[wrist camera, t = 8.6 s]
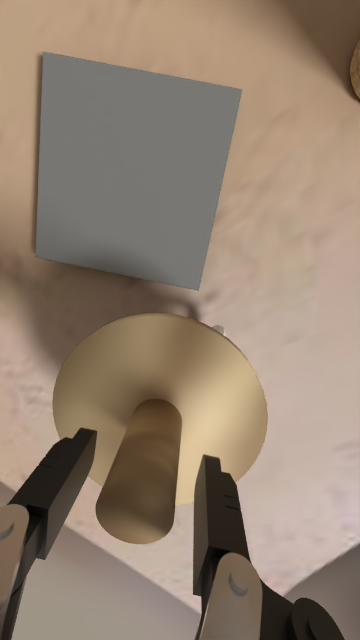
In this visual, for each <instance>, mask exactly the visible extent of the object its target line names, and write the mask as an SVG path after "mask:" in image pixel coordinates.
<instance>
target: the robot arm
mask: <svg viewBox="0 0 360 640" xmlns="http://www.w3.org/2000/svg"><path fill="white" fill-rule="evenodd" d="M96 440H97V431H96V430H92V429H87V428H82V427H81V428H80V429H79V430H78V431H77V433H76V434H75V436H74V437H73V438H67V437H64V438H63V439H62V440H60V441H59V442H57V443H56V444H54V445H53V447H52V448H51V449H50V450H49V452H48V453H47V454H46V456H45V457H44V458H43V459H42V461H41V462H40V463H39V466H37V467H36V469H35V470H34V471H33V472H32V474H31V475H30V476H29V478H28V479H27V480H26V481H25V483H24V484H23V485H22V487H21V488H20V489H19V490H18V492H17V493H16V494H15V496H14V497H13V498H12V500H11V501H10V502H9V503H8V504H7V505H6V506H3V507H0V640H11V639H12V635H13V631H14V627H15V623H16V619H17V614H18V610H19V606H20V602H21V598H22V594H23V590H24V585H25V581H26V576H27V574H28V572H29V570H30V568H31V566H32V564H33V563H34V561H35V559H36V558H39V559H43V560H45V559H46V557H47V555H48V553H49V551H50V549H51V547H52V545H53V543H54V541H55V539H56V537H57V535H58V533H59V531H60V529H61V527H62V526H63V524H64V522H65V520H66V518H67V516H68V514H69V512H70V510H71V508H72V506H73V504H74V502H75V500H76V498H77V496H78V494H79V492H80V490H81V488H82V486H83V484H84V482H85V480H86V478H87V476H88V474H89V472H90V470H91V467H92V464H93V461H94V456H95V448H96ZM193 595H197V596H201V603H202V614H201V617H200V620H199V624H198V628H197V632H196V636H195V640H344V637H343V636H342V634H341V632H340V630H339V628H338V626H337V625H336V623H335V622H334V620H333V619H332V617H331V616H330V615H329V614H328V612H326V610H325V609H324V608H323V607H322V606H320V605H319V604H318V603H316V602H315V601H313V600H311V599H308V598H300V599H298V600H296V601H295V603H294V604H293V603H291V602H290V601H288V600H286V599H285V598H284V597H282V596H281V595H279V594H278V593H276V592H275V591H273V590H272V589H270V588H269V587H268V586H267V585H266V584H265V583H264V582H263V581H262V580H261V579H260V578H259V575H258V573H257V571H256V570H255V568H254V567H253V565H252V563H251V561H250V557H249V553H248V547H247V541H246V536H245V530H244V524H243V519H242V513H241V508H240V502H239V496H238V491H237V485H236V483H235V482H234V480H233V478H232V476H231V474H230V473H226V472H222V471H221V462H220V458H219V457H214V456H210V455H205V454H203V456H202V460H201V463H200V467H199V471H198V474H197V478H196V483H195V490H194V549H193Z"/></svg>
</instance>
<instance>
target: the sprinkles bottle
mask: <svg viewBox="0 0 360 640" xmlns="http://www.w3.org/2000/svg"><path fill="white" fill-rule="evenodd" d="M350 76H351V82H352V86H353V88H354V91H355V93H356V94H357V96H358V97H359V99H360V39H359V41H358V43H357V46H356V48H355V50H354V53H353V57H352V60H351V66H350Z"/></svg>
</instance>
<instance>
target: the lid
mask: <svg viewBox="0 0 360 640" xmlns="http://www.w3.org/2000/svg"><path fill="white" fill-rule="evenodd" d="M53 416H54V421H55V426H56V429H57V432H58V435H59V438H60V440H62V439H63V438H64V437H67V438H73V437H74V436H75V434H76V433H77V431H78V430H79V429H80V428H81V427H82V428H87V429H92V430H96V431H97V440H96V448H95V456H94V461H93V464H92V467H91V470H90V472H89V474H88V477H90V478H91V479H92V480H94V481H95V482H96V483H98V484H99V485H101V486H102V487H103V488H102V490H101V493H100V495H99V498H98V500H97V503H96V516H97V519H98V521H99V523H100V524H101V526H102V527H103V528H104V529H105V530H106V531H107V532H108V533H109V534H110V535H112V536H113V537H115V538H117V539H119V540H121V541H124V542H128V543H133V544H147V543H152V542H155V541H158V540H160V539H161V538H163V537H164V536H166V535H167V534H168V533H169V531H170V530H171V528H172V526H173V522H174V513H175V505H181V504H187V503H193V502H194V490H195V483H196V478H197V474H198V471H199V467H200V463H201V460H202V456H203V454H205V455H210V456H214V457H219V458H220V462H221V471H222V472H226V473H230V474H231V476H232V478H233V480H234V482H235V483H236V482H237V481H238V480H239V479H240V478H241V477H242V476H243V475H244V474H245V473H246V472H247V471H248V470H249V468H250V467H251V466H252V465H253V463H254V462H255V460H256V458H257V457H258V455H259V453H260V451H261V448H262V446H263V443H264V440H265V435H266V431H267V420H268V414H267V403H266V399H265V395H264V391H263V389H262V386H261V384H260V381H259V379H258V377H257V375H256V373H255V371H254V369H253V368H252V366H251V364H250V363H249V361H248V359H247V358H246V357H245V356H244V354H243V353H242V352H241V351H240V349H239V348H238V347H237V346H236V345H234V344H233V343H232V342H231V341H230V340H229V339H228V338H227V337H225V336H224V335H222V334H221V333H220V332H218V331H217V330H215V329H213V328H211V327H210V326H208V325H206V324H204V323H201V322H199V321H196V320H194V319H191V318H187V317H183V316H179V315H175V314H166V313H144V314H137V315H131V316H128V317H124V318H121V319H118V320H115V321H113V322H111V323H109V324H106V325H105V326H103V327H101V328H100V329H98V330H97V331H95V332H93V333H92V334H91V335H89V336H88V337H87V338H85V339H84V340H83V341H82V342H81V343H80V344H78V345H77V346H76V347H75V349H74V350H73V351H72V352H71V353H70V354H69V356H68V357H67V359H66V360H65V362H64V364H63V365H62V367H61V369H60V372H59V374H58V376H57V379H56V383H55V387H54V392H53Z"/></svg>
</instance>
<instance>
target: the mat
mask: <svg viewBox="0 0 360 640" xmlns="http://www.w3.org/2000/svg"><path fill="white" fill-rule="evenodd" d="M241 93H242V89H237V88H232V87H227V86H221V85H216V84H211V83H205V82H200V81H195V80H190V79H184V78H179V77H174V76H169V75H163V74H158V73H153V72H148V71H142V70H137V69H132V68H126V67H121V66H116V65H111V64H105V63H100V62H95V61H90V60H84V59H79V58H74V57H69V56H63V55H58V54H53V53H48V52H43V69H42V96H41V122H40V149H39V176H38V202H37V229H36V256H35V257H37V258H42V259H46V260H51V261H56V262H61V263H66V264H71V265H76V266H81V267H85V268H90V269H95V270H100V271H105V272H110V273H115V274H120V275H124V276H129V277H134V278H139V279H144V280H149V281H154V282H158V283H163V284H168V285H173V286H178V287H183V288H188V289H193V290H197V291H199V287H200V282H201V277H202V273H203V268H204V264H205V259H206V254H207V250H208V245H209V241H210V236H211V231H212V227H213V222H214V218H215V213H216V208H217V204H218V199H219V194H220V190H221V185H222V181H223V176H224V171H225V167H226V162H227V158H228V153H229V148H230V144H231V139H232V135H233V130H234V125H235V121H236V116H237V111H238V107H239V102H240V98H241Z"/></svg>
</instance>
